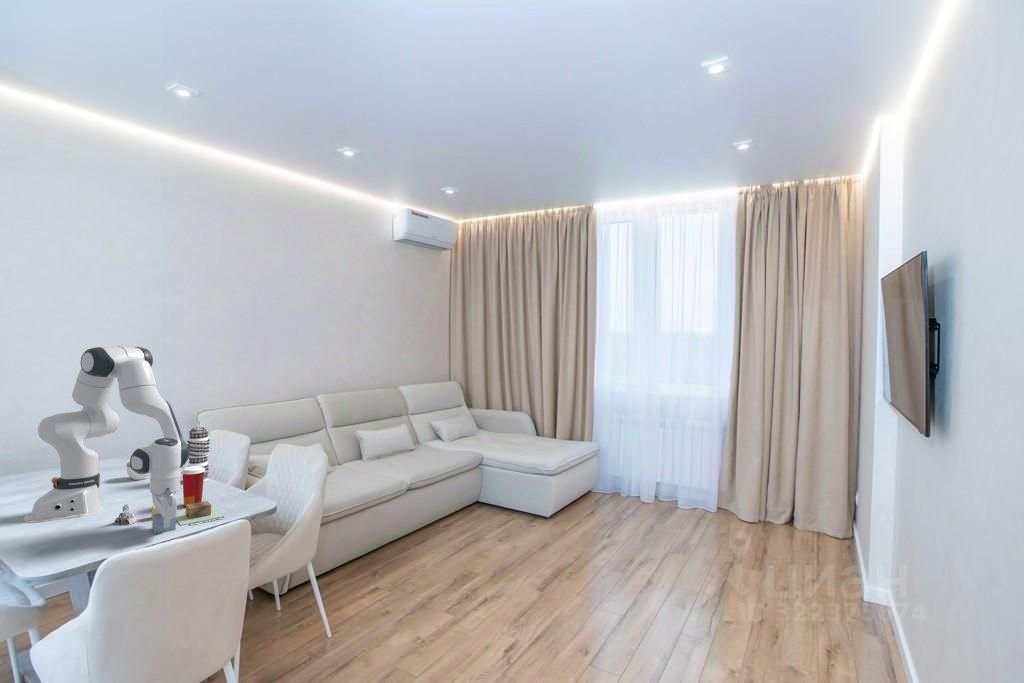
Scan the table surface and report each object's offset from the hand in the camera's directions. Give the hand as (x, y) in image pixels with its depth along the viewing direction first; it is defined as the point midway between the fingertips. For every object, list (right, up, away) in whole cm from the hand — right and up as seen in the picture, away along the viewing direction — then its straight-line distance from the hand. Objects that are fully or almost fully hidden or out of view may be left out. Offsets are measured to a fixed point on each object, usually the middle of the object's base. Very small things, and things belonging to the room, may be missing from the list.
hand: (164, 524), depth 177 cm
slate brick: (0, -2, 0) cm, 2 cm away
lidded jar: (-55, -1, +63) cm, 84 cm away
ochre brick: (-10, -2, +12) cm, 16 cm away
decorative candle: (-27, -2, +62) cm, 68 cm away
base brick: (+3, -2, +14) cm, 14 cm away
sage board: (+3, -3, +14) cm, 15 cm away
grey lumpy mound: (-17, -3, +8) cm, 19 cm away
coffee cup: (-8, -2, +28) cm, 29 cm away
